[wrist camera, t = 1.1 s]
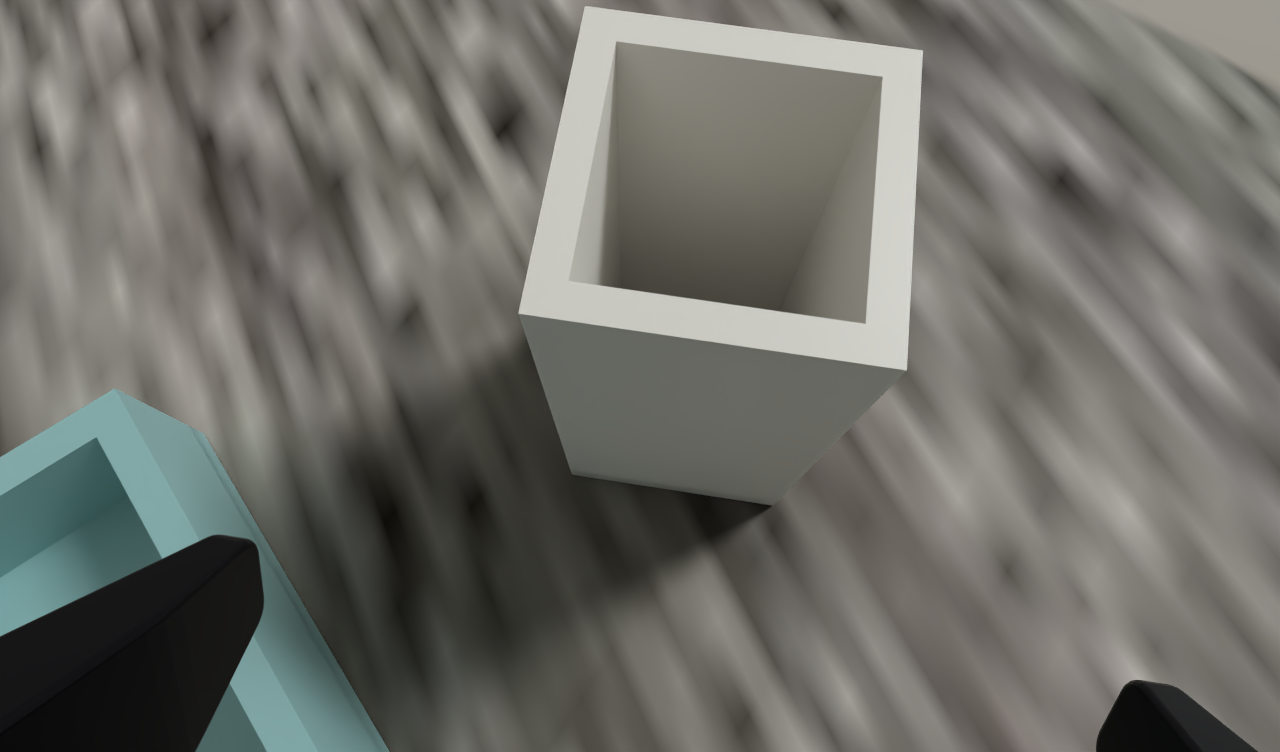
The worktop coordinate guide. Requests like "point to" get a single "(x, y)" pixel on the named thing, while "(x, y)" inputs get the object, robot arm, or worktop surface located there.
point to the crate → (151, 530)
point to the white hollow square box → (722, 250)
